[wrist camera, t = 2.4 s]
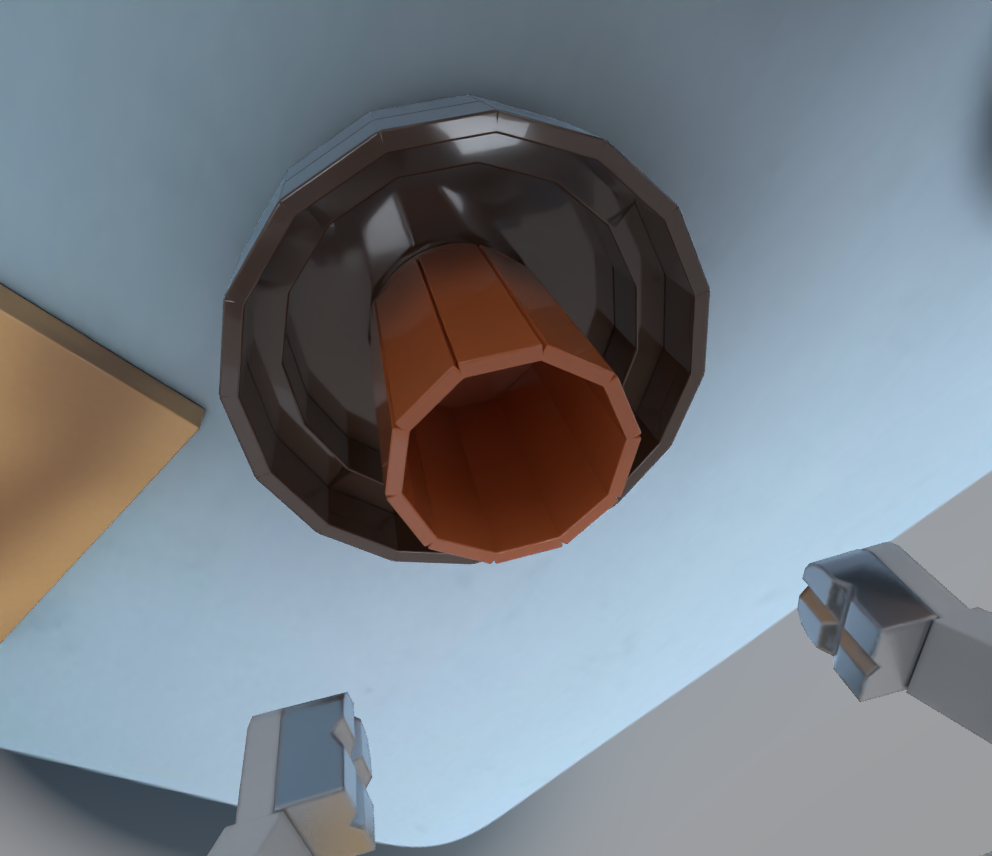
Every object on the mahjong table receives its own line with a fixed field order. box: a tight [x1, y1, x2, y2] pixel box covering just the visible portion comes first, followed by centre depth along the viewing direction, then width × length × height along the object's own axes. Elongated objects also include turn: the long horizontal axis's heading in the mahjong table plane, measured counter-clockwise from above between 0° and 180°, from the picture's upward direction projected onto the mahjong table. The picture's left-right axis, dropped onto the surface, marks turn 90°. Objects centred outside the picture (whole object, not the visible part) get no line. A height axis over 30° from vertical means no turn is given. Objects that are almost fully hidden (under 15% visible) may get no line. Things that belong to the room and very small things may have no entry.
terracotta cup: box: [369, 243, 641, 564], centre depth 18 cm, size 6×6×8 cm
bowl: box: [219, 95, 710, 564], centre depth 20 cm, size 14×14×4 cm
